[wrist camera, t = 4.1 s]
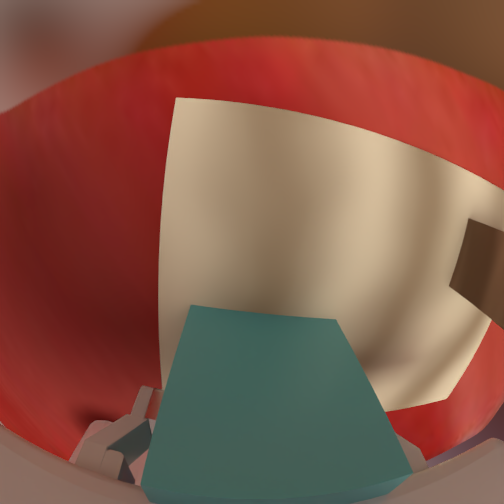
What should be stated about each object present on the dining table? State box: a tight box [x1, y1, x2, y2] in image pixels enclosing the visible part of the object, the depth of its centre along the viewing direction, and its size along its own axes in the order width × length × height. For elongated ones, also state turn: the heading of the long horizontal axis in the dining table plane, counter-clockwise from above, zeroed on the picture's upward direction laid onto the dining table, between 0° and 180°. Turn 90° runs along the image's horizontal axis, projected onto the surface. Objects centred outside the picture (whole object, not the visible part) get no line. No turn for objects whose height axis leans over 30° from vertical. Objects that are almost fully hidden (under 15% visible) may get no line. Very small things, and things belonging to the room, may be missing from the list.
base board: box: [158, 98, 504, 412], centre depth 12 cm, size 20×15×1 cm
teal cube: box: [140, 305, 413, 504], centre depth 8 cm, size 6×6×8 cm
